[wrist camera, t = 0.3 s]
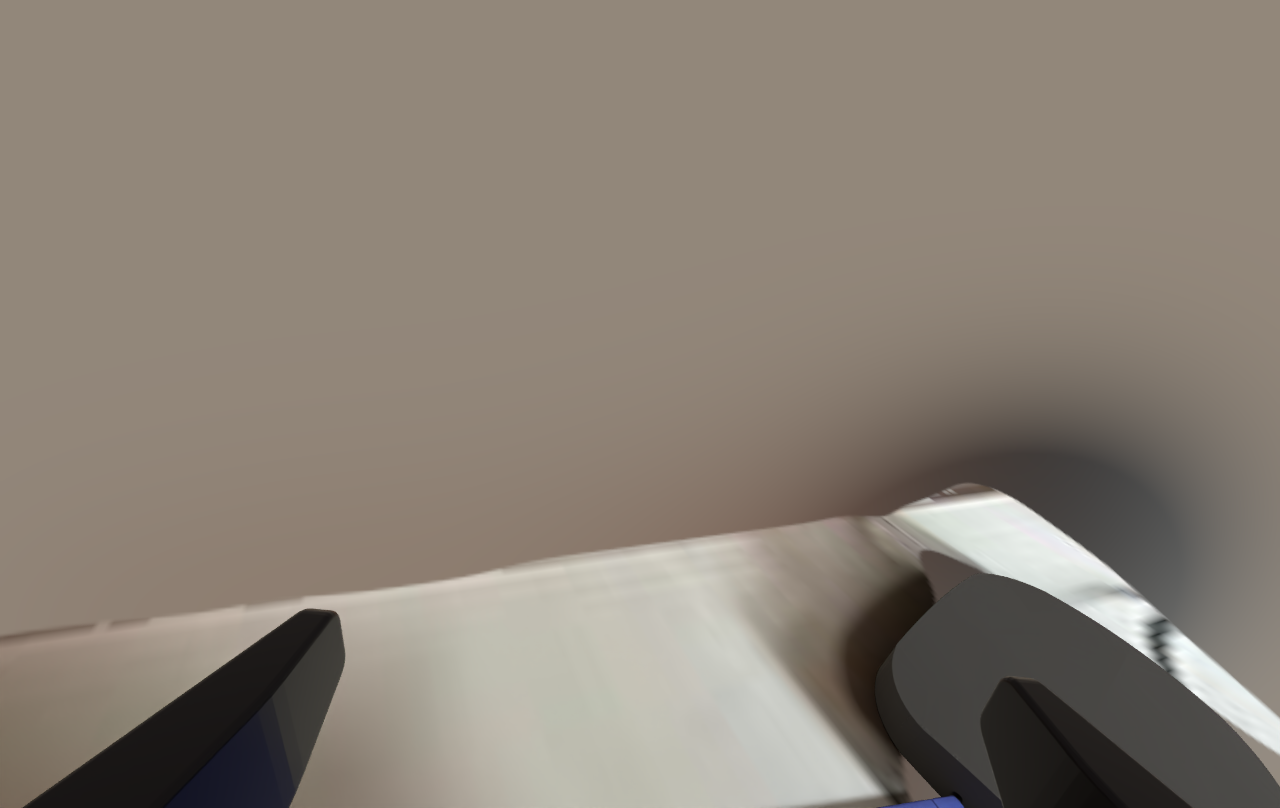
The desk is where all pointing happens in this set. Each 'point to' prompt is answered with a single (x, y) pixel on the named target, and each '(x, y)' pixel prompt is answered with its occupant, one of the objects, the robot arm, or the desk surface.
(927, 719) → the media streaming box
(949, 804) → the hard drive
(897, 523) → the desk surface
